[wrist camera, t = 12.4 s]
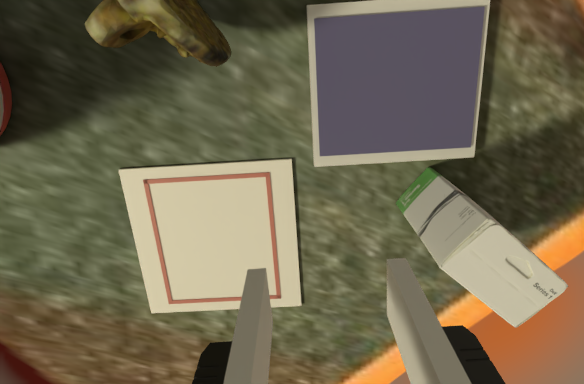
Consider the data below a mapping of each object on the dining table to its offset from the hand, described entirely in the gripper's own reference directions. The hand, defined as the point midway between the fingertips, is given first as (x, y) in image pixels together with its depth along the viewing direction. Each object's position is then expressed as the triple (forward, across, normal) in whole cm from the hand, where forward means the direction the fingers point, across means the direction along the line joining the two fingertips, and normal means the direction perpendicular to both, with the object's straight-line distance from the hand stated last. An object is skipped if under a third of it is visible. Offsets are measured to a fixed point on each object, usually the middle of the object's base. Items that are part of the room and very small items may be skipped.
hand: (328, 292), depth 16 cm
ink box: (+21, +12, -6) cm, 25 cm away
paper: (+21, -10, -8) cm, 24 cm away
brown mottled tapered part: (+21, -9, +12) cm, 26 cm away
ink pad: (+21, +7, +6) cm, 23 cm away
